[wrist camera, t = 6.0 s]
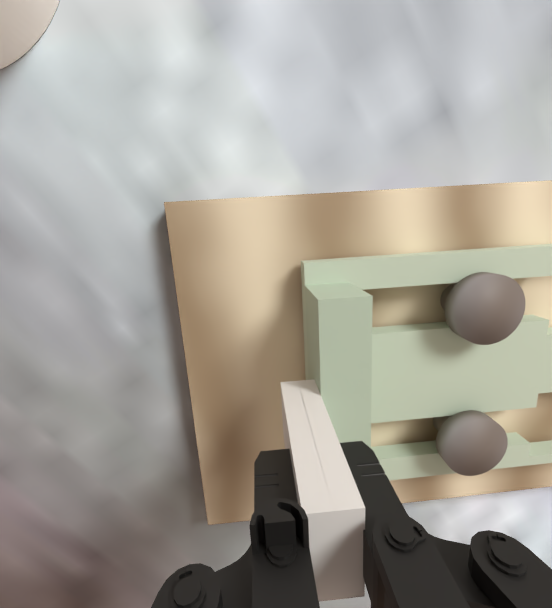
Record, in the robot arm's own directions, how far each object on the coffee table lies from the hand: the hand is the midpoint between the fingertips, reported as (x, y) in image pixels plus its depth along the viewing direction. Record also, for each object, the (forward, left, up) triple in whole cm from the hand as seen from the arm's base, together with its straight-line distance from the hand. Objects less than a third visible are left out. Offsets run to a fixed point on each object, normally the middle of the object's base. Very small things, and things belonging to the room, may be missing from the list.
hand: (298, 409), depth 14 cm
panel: (+9, 0, -3) cm, 10 cm away
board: (+9, 0, -4) cm, 10 cm away
